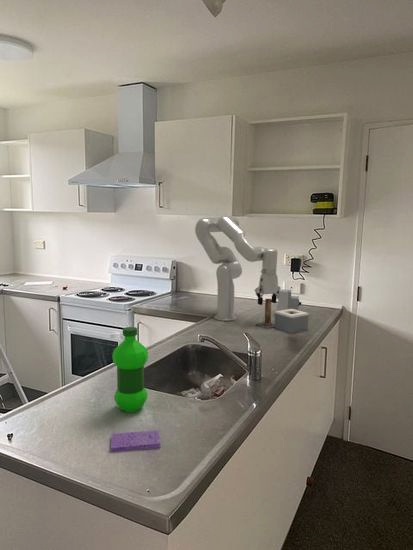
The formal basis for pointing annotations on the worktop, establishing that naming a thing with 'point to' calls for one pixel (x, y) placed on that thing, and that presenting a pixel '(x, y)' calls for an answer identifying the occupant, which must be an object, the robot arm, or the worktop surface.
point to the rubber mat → (266, 326)
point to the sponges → (135, 440)
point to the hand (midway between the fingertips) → (266, 303)
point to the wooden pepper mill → (267, 312)
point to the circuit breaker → (287, 300)
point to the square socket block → (291, 320)
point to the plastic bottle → (130, 372)
